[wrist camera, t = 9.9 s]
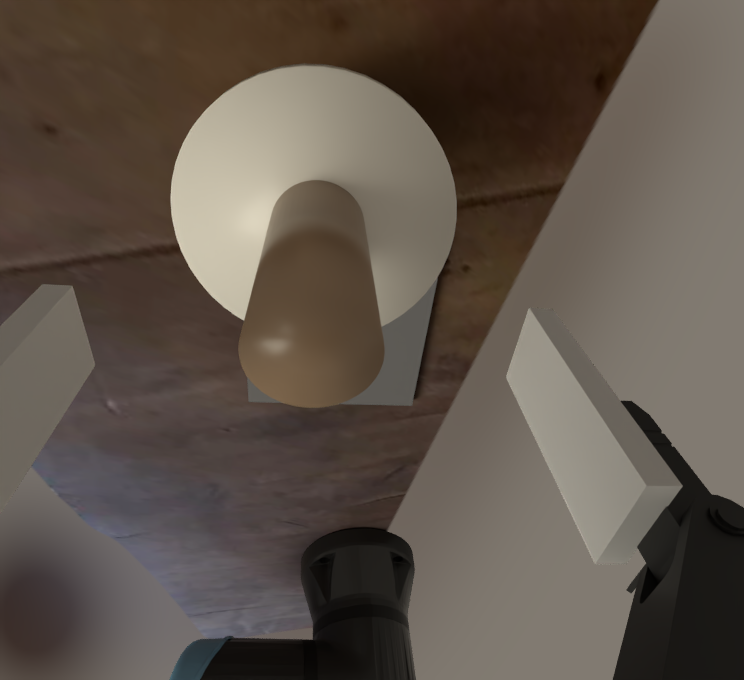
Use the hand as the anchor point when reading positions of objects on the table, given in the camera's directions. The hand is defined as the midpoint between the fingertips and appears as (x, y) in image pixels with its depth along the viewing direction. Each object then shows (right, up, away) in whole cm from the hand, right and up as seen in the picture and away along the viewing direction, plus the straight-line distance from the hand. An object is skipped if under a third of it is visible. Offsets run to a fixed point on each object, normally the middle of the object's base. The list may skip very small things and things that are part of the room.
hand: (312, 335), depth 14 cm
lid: (-1, +5, +7) cm, 9 cm away
